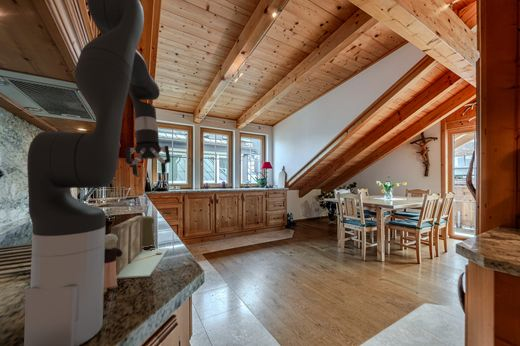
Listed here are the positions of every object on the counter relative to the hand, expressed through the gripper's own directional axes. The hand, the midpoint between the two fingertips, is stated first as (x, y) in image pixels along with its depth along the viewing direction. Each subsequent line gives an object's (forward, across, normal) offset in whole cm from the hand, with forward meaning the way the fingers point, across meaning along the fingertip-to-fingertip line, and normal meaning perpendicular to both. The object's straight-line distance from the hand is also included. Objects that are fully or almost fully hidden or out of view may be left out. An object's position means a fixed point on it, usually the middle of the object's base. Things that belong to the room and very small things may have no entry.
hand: (150, 175), depth 81 cm
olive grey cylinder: (+25, -4, +11) cm, 28 cm away
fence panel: (+26, -6, -3) cm, 27 cm away
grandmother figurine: (+30, -9, -22) cm, 39 cm away
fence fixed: (+28, -8, -13) cm, 32 cm away
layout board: (+28, -4, -7) cm, 29 cm away
